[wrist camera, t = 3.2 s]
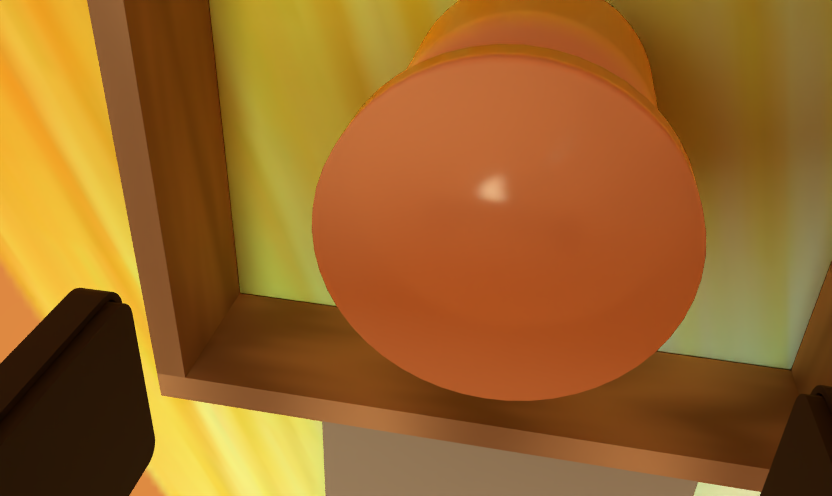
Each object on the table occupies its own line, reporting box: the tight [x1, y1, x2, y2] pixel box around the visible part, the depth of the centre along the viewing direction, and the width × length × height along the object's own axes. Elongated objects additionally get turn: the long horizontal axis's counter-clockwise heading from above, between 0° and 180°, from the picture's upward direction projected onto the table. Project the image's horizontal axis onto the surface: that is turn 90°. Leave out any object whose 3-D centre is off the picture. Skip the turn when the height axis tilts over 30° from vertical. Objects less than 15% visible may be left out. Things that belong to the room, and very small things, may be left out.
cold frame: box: [87, 0, 832, 492], centre depth 18 cm, size 18×16×5 cm
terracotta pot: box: [312, 0, 706, 401], centre depth 17 cm, size 7×7×7 cm
